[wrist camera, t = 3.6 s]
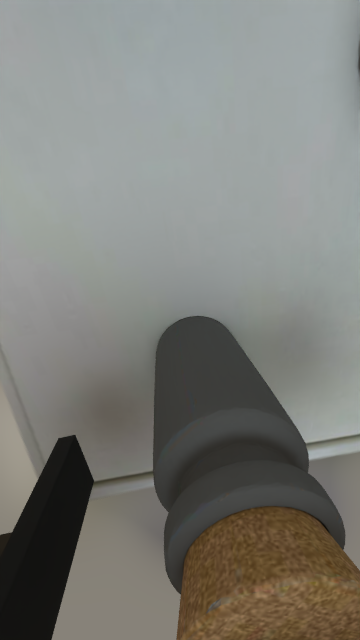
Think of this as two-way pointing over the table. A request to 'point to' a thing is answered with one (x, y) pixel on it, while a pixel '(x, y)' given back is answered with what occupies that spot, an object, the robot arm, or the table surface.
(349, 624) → the bottle
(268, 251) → the table surface
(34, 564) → the robot arm
